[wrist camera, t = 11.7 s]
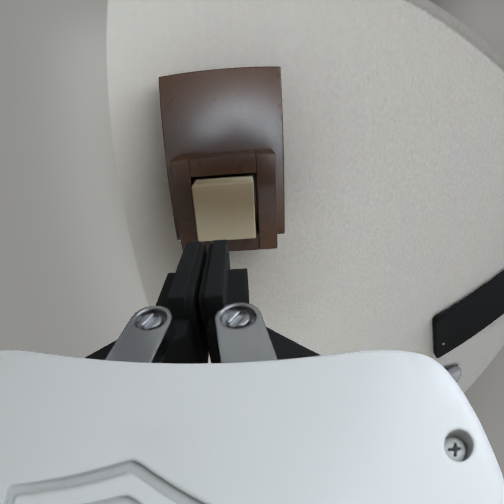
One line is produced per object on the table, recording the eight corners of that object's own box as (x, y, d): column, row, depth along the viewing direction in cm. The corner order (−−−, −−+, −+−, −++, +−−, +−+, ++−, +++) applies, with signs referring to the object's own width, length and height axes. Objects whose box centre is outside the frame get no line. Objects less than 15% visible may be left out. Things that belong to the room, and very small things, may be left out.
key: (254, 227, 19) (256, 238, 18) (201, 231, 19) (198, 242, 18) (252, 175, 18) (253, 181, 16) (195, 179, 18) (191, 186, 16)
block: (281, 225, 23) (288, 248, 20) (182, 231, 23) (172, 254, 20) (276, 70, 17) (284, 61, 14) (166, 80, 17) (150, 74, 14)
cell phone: (516, 297, 29) (520, 300, 29) (433, 355, 33) (436, 359, 32) (523, 253, 26) (527, 257, 25) (432, 317, 29) (435, 322, 28)
